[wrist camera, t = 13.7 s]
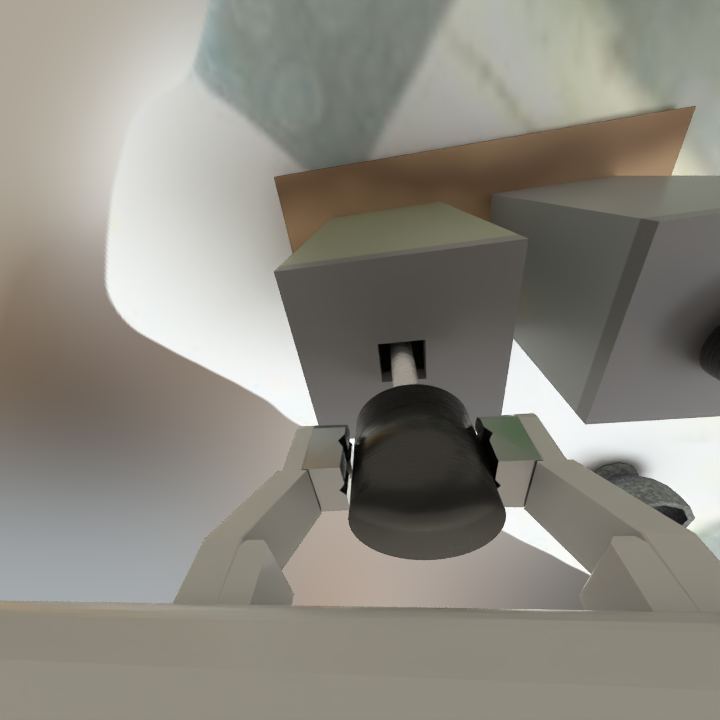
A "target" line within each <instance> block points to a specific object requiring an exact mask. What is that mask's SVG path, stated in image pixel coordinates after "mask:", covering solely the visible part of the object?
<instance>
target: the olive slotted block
mask: <svg viewBox="0 0 720 720" xmlns="http://www.w3.org/2000/svg"><path fill="white" fill-rule="evenodd" d="M527 246H528V238H526V237H524V236H521V235H519V234H516V233H514V232H512V231H509V230H507V229H505V228H502V227H500V226H497V225H495V224H493V223H490V222H488V221H485V220H483V219H481V218H478V217H476V216H473V215H471V214H469V213H466V212H464V211H461V210H459V209H457V208H454V207H452V206H450V205H447V204H445V203H442V202H435V203H428V204H421V205H414V206H408V207H401V208H394V209H387V210H381V211H374V212H367V213H361V214H354V215H347V216H340V217H334V218H331V219H330V220H329V221H327V222H326V223H325V224H324V225H323V226H322V227H321V228H320V229H319V230H318V231H317V232H316V233H315V234H314V235H313V236H312V237H310V238H309V239H308V240H307V241H306V242H305V243H304V244H303V245H302V246H301V247H300V248H299V249H298V250H297V251H296V252H294V253H293V254H292V255H291V256H290V257H289V258H288V259H287V260H286V261H285V262H284V263H283V264H282V265H281V266H280V267H279V268H277V269H276V270H275V271H274V273H275V277H276V280H277V284H278V287H279V291H280V294H281V298H282V301H283V304H284V308H285V311H286V315H287V318H288V322H289V325H290V328H291V332H292V335H293V339H294V342H295V346H296V349H297V352H298V356H299V359H300V363H301V366H302V370H303V373H304V377H305V380H306V383H307V387H308V390H309V394H310V397H311V401H312V404H313V407H314V411H315V414H316V418H317V421H318V425H348V427H349V431H350V438H355V432H356V421H357V418H358V415H359V413H360V411H361V409H362V408H363V406H364V405H365V404H366V403H367V402H368V401H369V400H370V399H371V398H373V397H374V396H376V395H377V394H379V393H381V392H383V391H385V390H387V389H390V388H393V380H392V367H391V354H390V343H396V342H406V341H410V342H411V347H412V352H413V357H414V362H415V366H416V371H417V376H418V381H419V384H423V385H430V386H435V387H438V388H441V389H443V390H446V391H448V392H450V393H451V394H453V395H454V396H456V397H457V398H458V399H459V400H460V401H461V402H462V403H463V404H464V406H465V408H466V409H467V411H468V414H469V417H470V419H471V422H472V424H473V427H474V430H475V431H476V429H475V423H476V419H477V417H487V416H501V413H502V407H503V400H504V394H505V387H506V381H507V374H508V368H509V362H510V355H511V349H512V342H513V336H514V329H515V323H516V317H517V310H518V304H519V297H520V291H521V284H522V278H523V272H524V265H525V259H526V252H527Z"/></svg>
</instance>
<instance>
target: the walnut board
mask: <svg viewBox="0 0 720 720" xmlns="http://www.w3.org/2000/svg"><path fill="white" fill-rule="evenodd" d="M695 107H696V106H692V107H686V108H680V109H674V110H668V111H662V112H656V113H650V114H644V115H638V116H632V117H626V118H620V119H615V120H609V121H603V122H597V123H591V124H585V125H579V126H573V127H567V128H561V129H555V130H549V131H543V132H538V133H532V134H526V135H520V136H514V137H508V138H502V139H496V140H490V141H484V142H478V143H472V144H466V145H461V146H455V147H449V148H443V149H437V150H431V151H425V152H419V153H413V154H407V155H401V156H395V157H389V158H384V159H378V160H372V161H366V162H360V163H354V164H348V165H342V166H336V167H330V168H324V169H318V170H313V171H307V172H301V173H295V174H289V175H283V176H277V177H274V179H275V183H276V187H277V191H278V195H279V199H280V203H281V207H282V211H283V215H284V219H285V223H286V227H287V231H288V235H289V240H290V244H291V248H292V252H293V253H294V252H296V251H297V250H298V249H299V248H300V247H301V246H302V245H303V244H304V243H305V242H306V241H307V240H308V239H309V238H310V237H312V236H313V235H314V234H315V233H316V232H317V231H318V230H319V229H320V228H321V227H322V226H323V225H324V224H325V223H326V222H327V221H329V220H330V219H331V218H334V217H340V216H347V215H354V214H361V213H367V212H374V211H381V210H387V209H394V208H401V207H408V206H414V205H421V204H428V203H435V202H442V203H445V204H447V205H450V206H452V207H454V208H457V209H459V210H461V211H464V212H466V213H469V214H471V215H473V216H476V217H478V218H481V219H483V220H485V221H488V222H489V221H490V209H491V198H492V194H495V193H502V192H508V191H515V190H522V189H529V188H535V187H542V186H549V185H556V184H562V183H569V182H576V181H582V180H589V179H596V178H603V177H609V176H671V174H672V171H673V169H674V166H675V163H676V160H677V158H678V155H679V152H680V149H681V146H682V144H683V141H684V138H685V135H686V132H687V130H688V127H689V124H690V121H691V118H692V116H693V113H694V110H695Z"/></svg>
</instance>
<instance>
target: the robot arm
mask: <svg viewBox="0 0 720 720" xmlns="http://www.w3.org/2000/svg"><path fill="white" fill-rule="evenodd" d="M475 429H476V431H477V434H478V435H477V437H478V440H479V443H480V445H481V448H482V450H483V453H484V456H485V458H486V461H487V463H488V466H489V469H490V471H491V474H492V476H493V479H494V482H495V484H496V487H497V489H498V492H499V495H500V497H501V500H502V503H503V505H504V507H525V508H524V509H525V510H526V511H527V512H528V513H529V514H530V515H531V516H532V517H533V518H534V519H535V520H536V521H537V522H538V523H539V524H540V525H541V526H542V527H544V528H545V529H546V530H547V531H548V532H549V533H550V534H551V535H552V536H553V537H554V538H555V539H556V540H557V541H558V542H559V543H560V544H561V545H562V546H563V547H564V548H565V549H566V550H567V551H568V552H569V553H570V554H571V555H572V556H573V557H574V558H575V559H576V560H577V561H578V562H579V563H580V564H581V565H582V566H583V567H584V568H585V569H587V570H588V571H589V572H590V573H591V576H590V577H589V579H588V581H587V583H586V585H585V586H584V588H583V590H582V592H581V593H580V595H579V598H580V600H581V603H582V605H583V607H584V609H585V610H538V609H535V610H534V609H479V608H473V609H472V608H421V607H419V608H418V607H363V606H361V607H360V606H303V605H299V606H298V605H292V601H293V596H294V593H293V591H292V589H291V587H290V585H289V584H288V582H287V580H286V578H285V576H284V575H283V573H282V569H283V568H284V566H285V565H286V564H287V562H288V561H289V559H290V558H291V556H292V555H293V553H294V552H295V551H296V549H297V548H298V546H299V544H300V543H301V542H302V541H303V539H304V538H305V536H306V535H307V533H308V532H309V530H310V529H311V528H312V526H313V525H314V523H315V522H316V520H317V519H318V518H319V516H320V515H321V511H338V510H339V511H340V510H349V505H350V493H351V480H350V479H351V478H352V469H353V456H354V452H353V446H352V444H351V443H350V442H349V439H350V431H349V427H348V425H319V426H300V427H299V428H298V429H297V430H296V432H295V436H294V438H293V441H292V444H291V447H290V451H289V453H288V456H287V459H286V462H285V465H284V468H283V471H277V472H276V473H275V474H274V475H273V476H272V477H271V478H270V479H268V480H267V481H266V482H265V483H264V484H263V485H262V486H261V487H260V488H259V489H258V490H257V491H255V492H254V493H253V494H252V495H251V496H250V497H249V498H248V499H247V500H246V501H245V502H244V503H243V504H241V505H240V506H239V507H238V508H237V509H236V510H235V511H234V512H233V513H232V514H231V515H230V516H228V517H227V518H226V519H225V520H224V521H223V522H222V523H221V524H220V525H219V526H218V527H217V528H216V529H215V530H213V531H212V532H211V533H210V534H209V535H208V536H207V537H206V538H205V539H204V541H203V543H202V545H201V547H200V549H199V551H198V553H197V555H196V558H195V559H194V561H193V563H192V565H191V568H190V570H189V571H188V574H187V576H186V578H185V580H184V582H183V584H182V586H181V588H180V590H179V592H178V594H177V596H176V598H175V600H174V602H173V603H122V602H121V603H120V602H63V601H60V602H58V601H2V600H1V601H0V720H720V561H719V560H718V559H717V557H716V556H715V555H714V554H713V553H712V552H711V551H710V550H709V548H708V547H707V546H706V545H705V544H704V543H703V542H702V541H701V539H700V538H699V537H698V536H697V535H696V534H695V533H693V532H692V531H690V530H688V529H687V528H685V527H683V526H682V525H680V524H678V523H677V522H675V521H673V520H672V519H670V518H668V517H667V516H665V515H664V514H662V513H660V512H659V511H657V510H655V509H654V508H652V507H650V506H649V505H647V504H645V503H644V502H642V501H640V500H639V499H637V498H635V497H634V496H632V495H631V494H629V493H627V492H626V491H624V490H622V489H621V488H619V487H617V486H616V485H614V484H612V483H611V482H609V481H607V480H606V479H604V478H602V477H601V476H599V475H598V474H596V473H594V472H593V471H591V470H589V469H588V468H586V467H584V466H583V465H581V464H579V463H578V462H576V461H574V460H567V459H566V458H565V456H564V455H563V453H562V452H561V451H560V449H559V448H558V446H557V445H556V443H555V442H554V440H553V439H552V437H551V436H550V434H549V433H548V431H547V430H546V429H545V427H544V426H543V424H542V423H541V421H540V420H539V418H538V417H537V416H536V415H535V414H533V413H530V414H516V415H503V416H487V417H477V419H476V423H475Z"/></svg>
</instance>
